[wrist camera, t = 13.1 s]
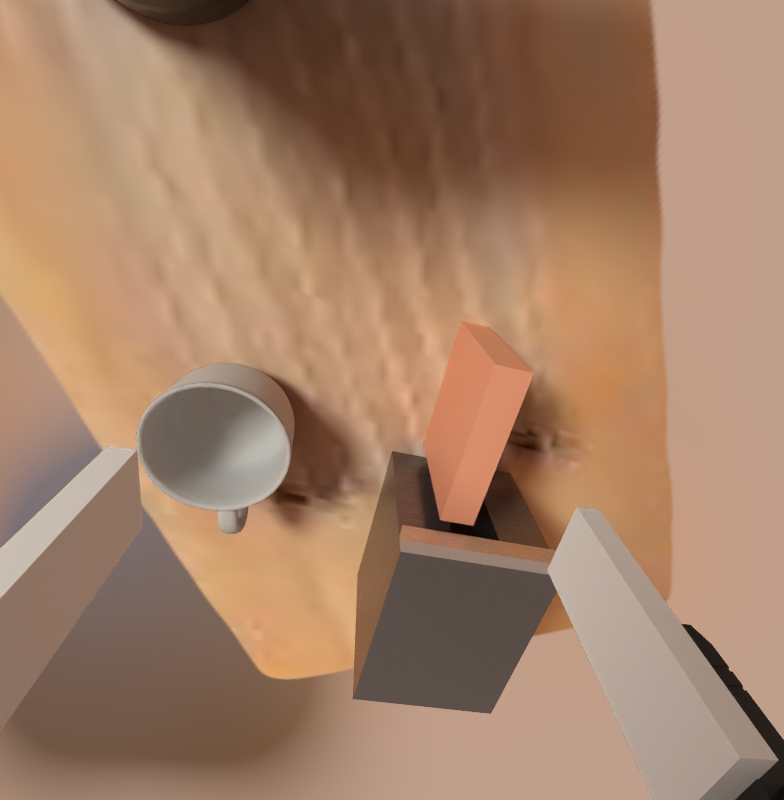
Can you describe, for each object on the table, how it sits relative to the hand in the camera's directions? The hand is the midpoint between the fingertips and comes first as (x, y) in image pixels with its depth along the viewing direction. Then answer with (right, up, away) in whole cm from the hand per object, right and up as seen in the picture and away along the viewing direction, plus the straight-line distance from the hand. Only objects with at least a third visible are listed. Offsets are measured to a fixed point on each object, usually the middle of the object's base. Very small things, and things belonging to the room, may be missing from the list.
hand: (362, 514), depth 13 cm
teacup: (-13, +1, +26) cm, 29 cm away
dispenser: (+5, -10, +32) cm, 33 cm away
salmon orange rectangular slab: (+6, +5, +25) cm, 27 cm away
